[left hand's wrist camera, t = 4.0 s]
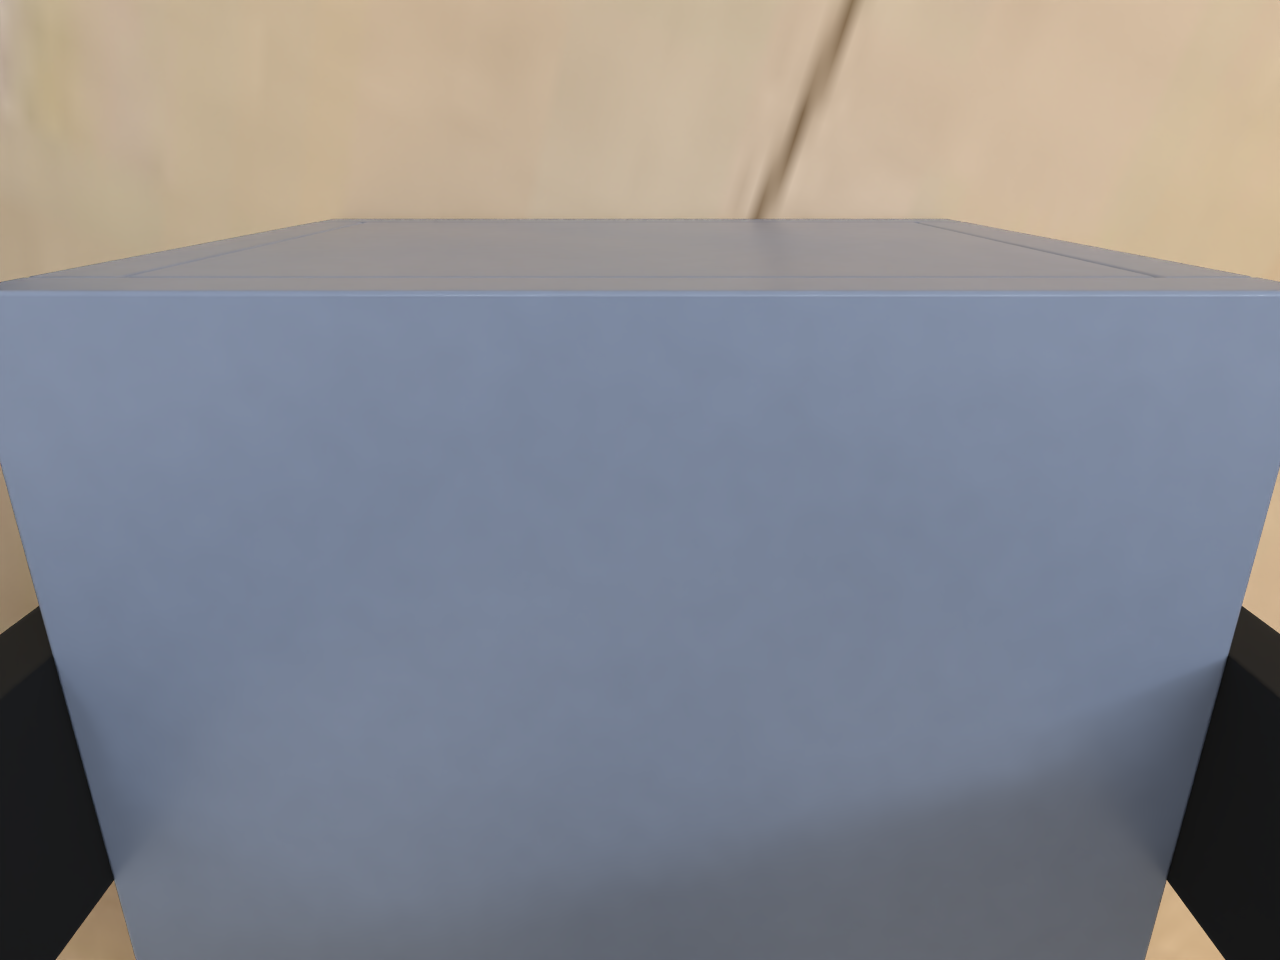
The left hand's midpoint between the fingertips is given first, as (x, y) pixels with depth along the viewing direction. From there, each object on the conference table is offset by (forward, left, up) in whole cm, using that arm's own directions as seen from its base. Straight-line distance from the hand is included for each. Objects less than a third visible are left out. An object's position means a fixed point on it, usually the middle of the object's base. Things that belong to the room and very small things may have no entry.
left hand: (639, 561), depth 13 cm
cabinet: (+3, -2, -4) cm, 5 cm away
